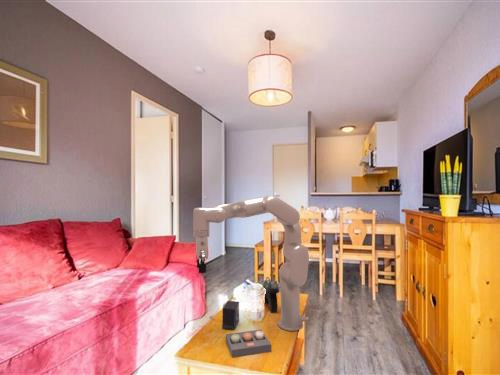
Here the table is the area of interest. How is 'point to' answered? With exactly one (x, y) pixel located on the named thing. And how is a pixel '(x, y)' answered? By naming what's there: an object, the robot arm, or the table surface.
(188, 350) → the table surface
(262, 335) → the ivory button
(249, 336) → the terracotta button
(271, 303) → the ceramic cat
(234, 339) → the sage button
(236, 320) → the small box
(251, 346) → the button box
